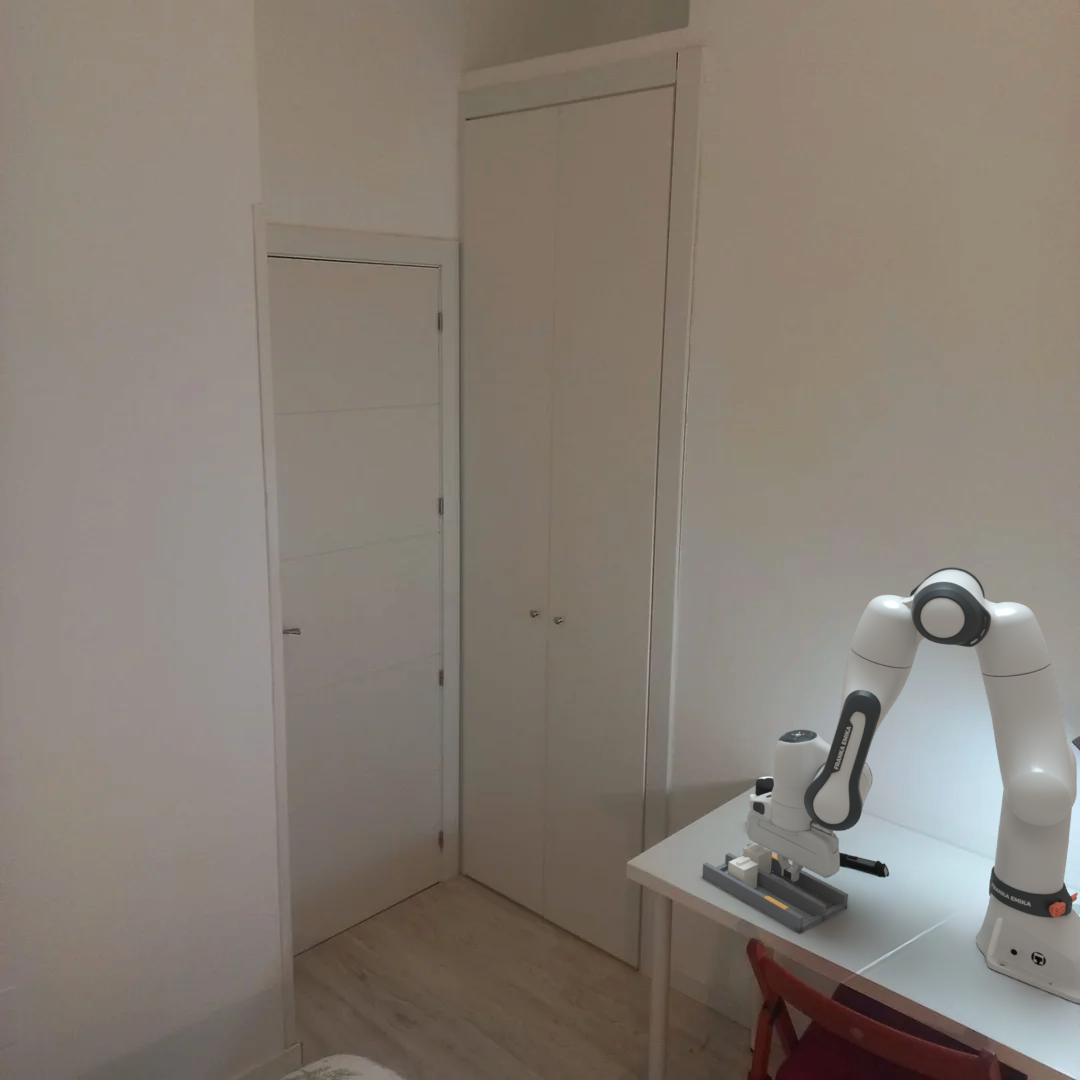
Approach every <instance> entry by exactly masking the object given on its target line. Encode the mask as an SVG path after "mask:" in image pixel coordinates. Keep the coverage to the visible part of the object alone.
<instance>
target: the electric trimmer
mask: <svg viewBox="0 0 1080 1080" xmlns="http://www.w3.org/2000/svg"><path fill="white" fill-rule="evenodd" d="M839 856H840V868H849V869H854V870H859V871H862V872H865V873H870V874H873V875H876V876H878V877H879V878H886V877H889V876H890V871H889V868H888V866H887V864H886V863H885V862H884V863H882V861H880V860H877V861H876V860H871V859H868V858H863V857H859V856H856V855H851V854H848V853H844V852H840V851H839Z"/></svg>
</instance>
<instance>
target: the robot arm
mask: <svg viewBox="0 0 1080 1080" xmlns="http://www.w3.org/2000/svg"><path fill="white" fill-rule="evenodd" d="M981 583H982V582H980V580H979V579H978V578H977V577H976V576H975V574H973V573H972V572H970V571H968V570H966V569H964V568H960V567H954V566H949V567H944V568H941V569H938V570H935V571H934V572H933V573H931V574H929V575H928V576H927V577H926V578H925V579H924V580H923V581H922V582H921V583H920V584H918V585H917V586H916V587H914V589H912V590H911V592H910V593H909V594H910V595H909V597H903V596H900V595H894V594H882V595H879V596H876V597H874V598H872V599H871V600H870V601H869V602H868V604H867V606H866V607H865V609H864V611H863V613H862V615H861V617H860V620H859V622H858V624H857V626H856V629H855V631H854V634H853V637H852V639H851V643H850V647H849V650H848V654H847V659H846V663H845V668H844V669H845V670H844V679H843V684H842V685H843V688H842V694H841V695H842V697H841V704H840V712H839V716H838V723H837V725H836V729H835V732H834V735H833V738H832V739H833V740H832V743H831V744H830V743H829V742H826V741H825V740H824V739H823V738H822V737H821V736H820V735H819V733H817V732H815V731H812V730H808V729H794V730H790V731H788V732H784V733H783V735H781V736H780V737H779V738H778V739H777V741H776V744H775V747H774V752H773V759H772V760H773V761H772V771H771V772H772V773H771V775H772V776H771V777H773V780H774V787H773V790H772V792H769V793H765V794H762V795H760V796H757V797H755V798H753V799H751V800H750V802H748V803H749V804H748V807H749V806H750V809H751V810H750V811H749V810H748V814H747V818H746V835H747V838H748V839H749V840H750V841H752V842H753V843H757V844H759V845H761V846H763V847H765V848H767V849H769V850H771V851H772V853H775V854H776V856H777V859H778V861H779V863H780V866H781V868H782V873H781V875H782V876H784V877H786V878H787V879H789V880H791V881H793V882H795V881H797V880H798V879H799V872H800V871H801V870H803V868H805V869H806V870H809V871H811V872H813V873H814V874H817V875H818V876H821V877H822V878H824V879H827V878H830V877H832V876H835V875H836V874H837V873H838V872H839V871H840V868H841V866H840V856H839V852H840V847H839V846H840V840H839V839H840V838H839V837H838V836H837V835H836V833H834V831H835V832H842V831H846V830H850V829H852V828H853V827H854V826H855V825H856V824H858V822H859V821H860V819H861V816H862V811H863V808H864V804H866V803H865V802H866V800H867V798H868V795H869V792H870V790H871V787H872V784H873V774H872V770H871V768H870V766H869V765H868V763H867V758H868V755H869V751H870V748H871V745H872V742H873V740H874V737H875V734H876V733H877V731H878V729H879V727H880V726H881V724H882V722H883V720H884V719H885V717H886V716H887V714H888V713H889V711H890V710H891V708H892V707H893V706H894V704H895V702H896V701H897V699H898V698H899V696H900V694H901V693H902V691H903V689H904V688H905V685H906V683H907V681H908V678H909V676H910V673H911V671H912V668H913V665H914V662H915V658H916V654H917V650H918V649H919V646H920V644H921V643H922V641H923V640H924V639H925V640H928V641H930V642H932V643H934V644H935V643H936V644H939V645H947V646H948V645H950V646H958V647H966V648H972V647H973V648H974V649H975V652H976V654H977V659H978V663H979V667H980V672H981V676H982V681H983V685H984V690H985V694H986V698H987V702H988V707H989V712H990V715H991V722H992V729H993V734H994V735H993V736H994V743H995V749H996V754H997V761H998V765H999V772H1000V777H1001V782H1002V789H1003V791H1002V799H1001V807H1000V816H999V823H998V833H997V841H996V842H997V843H996V849H995V859H994V866H992V868H991V872H990V878H989V885H988V886H989V887H988V895H989V899H988V905H987V909H986V912H985V916H984V918H983V919H984V920H982V921H983V922H982V925H981V927H980V929H979V931H978V932H977V935H976V937H975V938H976V939H975V941H976V945H977V947H978V949H979V950H980V951H981V952H982V954H983V955H984V957H985V962H986V965H987V967H988V968H990V969H992V970H993V971H996V972H999V973H1001V974H1003V975H1006V976H1008V977H1011V978H1014V979H1016V980H1019V981H1020V982H1024V983H1025V984H1028V985H1031V986H1034V987H1036V988H1038V989H1041V990H1043V991H1045V992H1048V993H1051V994H1053V995H1056V996H1058V997H1061V998H1062V999H1066V1000H1068V1001H1071V1002H1073V1003H1076V1004H1080V915H1079V914H1078V913H1077V912H1076V911H1075V909H1073V903H1074V902H1075V901H1076V900H1078V894H1079V893H1078V892H1075V893H1073V894H1071V895H1070V893H1069V891H1068V889H1067V888H1068V887H1067V886H1066V883H1065V873H1066V866H1067V858H1068V850H1069V844H1070V843H1069V842H1070V832H1071V820H1072V809H1073V807H1074V805H1075V803H1076V800H1077V792H1078V791H1077V790H1078V788H1077V787H1078V786H1077V775H1078V774H1077V773H1078V772H1077V771H1078V770H1077V768H1078V766H1077V757H1076V754H1075V752H1074V750H1073V748H1072V747H1071V745H1070V743H1069V742H1068V740H1067V739H1068V737H1067V734H1066V732H1067V731H1066V727H1065V721H1064V716H1063V709H1062V704H1061V700H1060V695H1059V691H1058V687H1057V682H1056V678H1055V673H1054V669H1053V664H1052V659H1051V656H1050V653H1049V649H1048V645H1047V642H1046V640H1045V636H1044V634H1043V630H1042V628H1041V626H1040V624H1039V622H1038V619H1037V617H1036V615H1035V614H1034V612H1033V611H1032V609H1031V608H1029V606H1026V605H1025V604H1022V603H1019V602H1015V601H1003V602H998V603H997V602H992V601H990V600H988V599H986V597H985V591H984V587H983V585H982V584H981ZM790 862H792V864H791V863H790ZM790 864H791V865H793V866H795V867H794V868H792V867H790ZM787 879H786V880H787ZM789 880H788V881H789ZM791 881H790V882H791Z"/></svg>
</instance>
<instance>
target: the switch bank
mask: <svg viewBox="0 0 1080 1080" xmlns="http://www.w3.org/2000/svg"><path fill="white" fill-rule="evenodd" d="M750 845H752V843H747V845H746V847H747V846H750ZM741 856H742V855H741ZM741 856H739V857H741ZM739 857H737V855H734V854H732V853H731V852H727V853H725V857H724V858H725V859H724V861H725V862H724V863H721V864H720V865H718V866H714V865H713V864H710V863H709V862H704V863H702V878H703V879H705V880H706V881H708V882H710V883H712V884H713V885H715V886H717V887H718V888H720V889H721V890H724V891H725V892H727V893H729V894H730V895H732V896H734V897H736V898H737V899H739V900H741V901H743V902H744V903H745V904H747V905H750V906H751V907H753V908H754V909H756V910H758V911H760V912H761V913H763V914H765V915H766V916H768V917H770V918H772V919H773V920H775V921H777V922H778V923H780V924H782V925H784V926H786V927H787V928H789V929H790V930H792V931H793V932H796V933H798V934H802V933H803V932H805V931H807V930H808V929H810V928H813V927H815V926H816V925H819V924H820V923H822V922H824V921H825V920H827V919H831V917H834V916H835V915H837V914H840V913H841V912H843V911H845V910H846V909H848V900H849V899H848V898H849V894H848V893H847V892H845V891H843V890H841V889H839V888H837V887H835V886H833V885H832V884H831V883H828V882H826V881H824V880H822V879H820V878H818V877H816V876H814V875H812V874H811V873H808V872H807V871H805V870H803V869H802V870H801V871H800V872H799V879H798V880H797V881H795V882H793V881H791V880H789V879H787V878H786V877H784V876H782V875H781V873H782V868H781V866H780V863H779V861H778V859H777V854H774V853H772V863H771V873H774V874H775V875H778V877H779V876H780V877H781V878H783V879H785V880H787V881H789V882H790V883H793V884H795V886H798V887H800V888H802V889H803V890H806V891H807V892H809V893H811V894H813V895H815V896H817V897H818V898H821V899H822V900H825V902H828V903H829V904H832V905H833V906H831V907H829V908H828V909H827V905H826V904H825V903H823V902H822V901H819V900H817V899H815V898H814V897H811V896H810V895H808V894H806V893H804V892H803V891H801V890H800V889H797V888H795V887H793V886H791V885H789V884H788V883H786V882H784V881H783V880H780V879H778V878H777V877H775V876H773V875H771V874H768V873H766V872H764V871H762V870H760V869H758V874H757V887H759V888H761V889H763V890H765V891H766V892H768V893H770V894H772V895H773V896H775V897H777V898H779V899H780V900H782V901H785V902H786V903H788V904H790V905H791V906H793V907H795V908H796V909H798V910H800V911H802V912H804V913H806V914H808V915H810V918H809V919H806V920H804V919H805V918H804V916H803V915H801V914H799V913H797V911H794V910H792V909H790V908H789V906H787V905H785V904H784V903H781V902H780V901H779V900H776V899H775V898H773V897H772V896H769V895H766V894H764V893H762V892H760V891H758V890H757V889H756V888H755V889H753V888H751V887H750V886H748V885H746V884H744V883H743V882H741V881H739V880H737V879H735V878H734V877H732V876H730V875H728V872H727V871H728V864H729V861H732V860H734V859H736V858H739ZM789 864H790V867H792V868H794V867H795V866H793V865H792V864H791V863H789Z"/></svg>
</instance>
